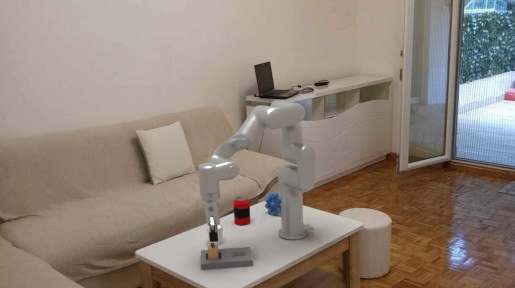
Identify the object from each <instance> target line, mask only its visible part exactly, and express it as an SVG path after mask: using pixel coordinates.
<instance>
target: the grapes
mask: <svg viewBox="0 0 515 288" xmlns="http://www.w3.org/2000/svg"><path fill="white" fill-rule="evenodd" d="M264 201H265V204H264V207H265V208H266V209H267V212H268V214H270V215H271V214H272V215H273V216H278V214H281V195H280V193H278V192H270V193H268V195H267V197H265V199H264Z"/></svg>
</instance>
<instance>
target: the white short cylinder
mask: <svg viewBox="0 0 515 288" xmlns="http://www.w3.org/2000/svg"><path fill="white" fill-rule="evenodd" d="M217 228H218V231H217V232H218V241H216V242H210V238H209V232H210V231H209V226H208V225H207V227H206V232H207V237H208V238H207V239H208V243H209V245H211V243H214V245H215V244H218V245H221V244H222V243H223V236H224V235H223V230H224V226H223V225H222V224H220V225H217Z"/></svg>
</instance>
